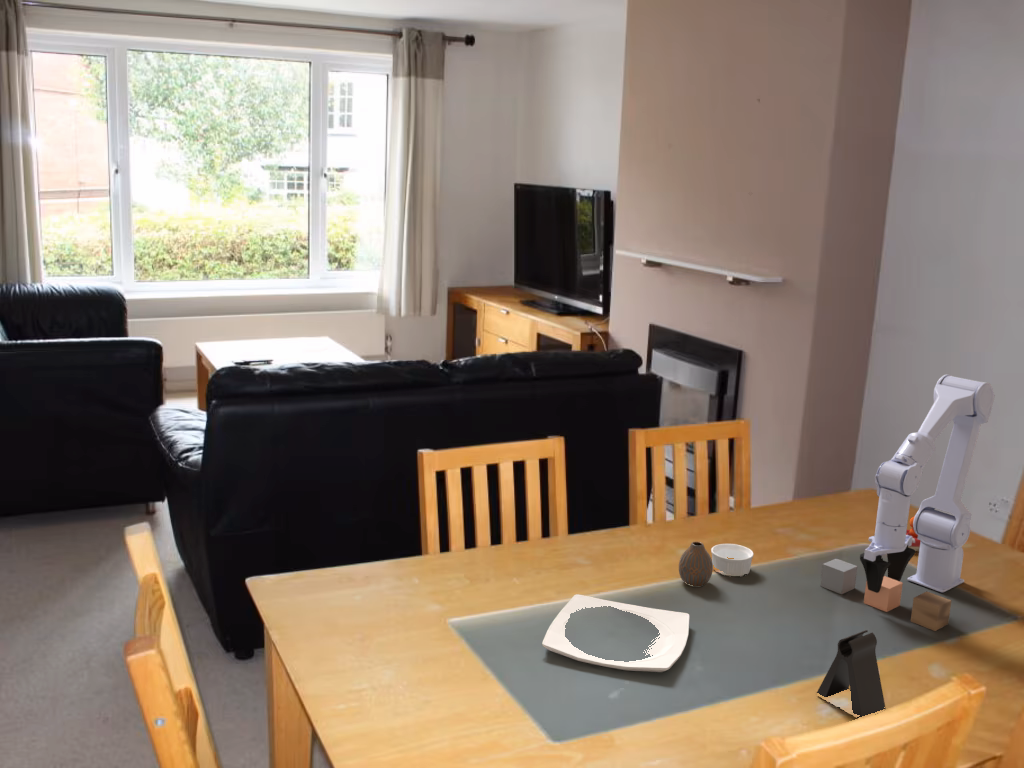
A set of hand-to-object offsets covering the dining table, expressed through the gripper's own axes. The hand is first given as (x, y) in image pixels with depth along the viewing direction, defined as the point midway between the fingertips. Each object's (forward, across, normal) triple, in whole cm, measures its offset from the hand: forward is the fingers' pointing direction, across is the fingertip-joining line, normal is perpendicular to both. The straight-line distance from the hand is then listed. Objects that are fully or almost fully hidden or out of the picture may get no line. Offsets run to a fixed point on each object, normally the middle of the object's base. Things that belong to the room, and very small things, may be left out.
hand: (883, 586), depth 197 cm
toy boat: (+4, -35, -12) cm, 37 cm away
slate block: (+4, 0, -10) cm, 11 cm away
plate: (+5, +54, -21) cm, 58 cm away
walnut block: (+4, 0, +10) cm, 11 cm away
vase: (+4, +23, -29) cm, 37 cm away
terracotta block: (+4, 0, 0) cm, 4 cm away
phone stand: (+4, +39, +17) cm, 43 cm away
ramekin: (+4, +11, -29) cm, 31 cm away
